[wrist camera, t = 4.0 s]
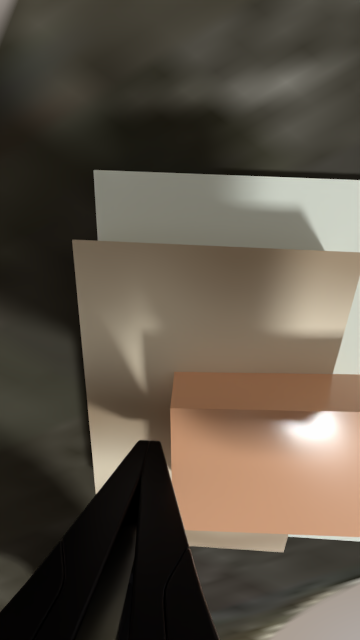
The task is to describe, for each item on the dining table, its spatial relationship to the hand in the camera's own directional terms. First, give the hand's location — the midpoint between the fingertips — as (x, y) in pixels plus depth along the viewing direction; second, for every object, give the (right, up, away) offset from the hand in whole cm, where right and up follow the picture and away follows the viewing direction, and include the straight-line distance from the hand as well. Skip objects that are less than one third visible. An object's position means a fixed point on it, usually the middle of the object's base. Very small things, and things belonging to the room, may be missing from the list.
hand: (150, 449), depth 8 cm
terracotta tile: (+5, 0, +1) cm, 5 cm away
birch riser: (+2, +1, +3) cm, 4 cm away
